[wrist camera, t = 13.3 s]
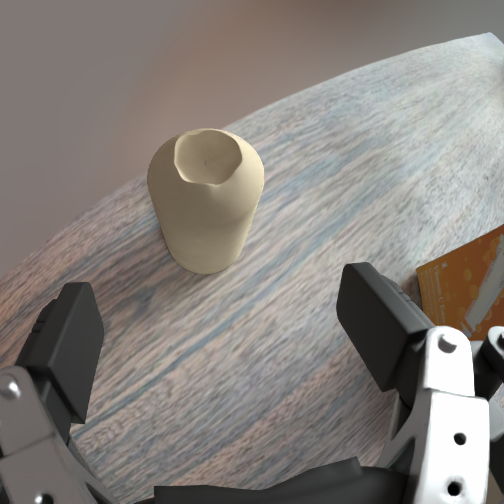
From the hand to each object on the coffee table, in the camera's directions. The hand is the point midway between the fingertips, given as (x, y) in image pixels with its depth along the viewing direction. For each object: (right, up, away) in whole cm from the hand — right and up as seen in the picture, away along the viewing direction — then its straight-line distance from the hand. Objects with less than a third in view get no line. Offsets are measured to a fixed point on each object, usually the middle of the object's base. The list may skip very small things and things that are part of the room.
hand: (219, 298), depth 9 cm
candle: (-2, +2, +13) cm, 13 cm away
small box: (+18, -4, +14) cm, 23 cm away
